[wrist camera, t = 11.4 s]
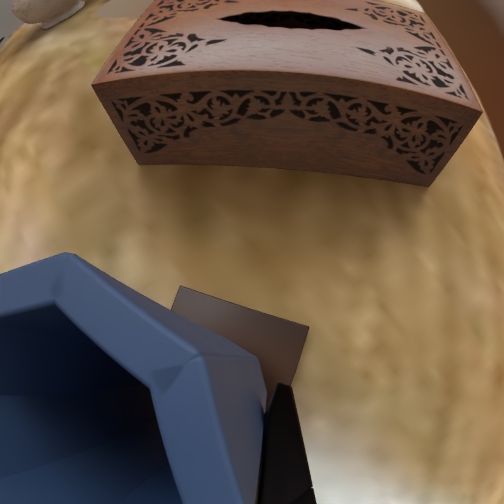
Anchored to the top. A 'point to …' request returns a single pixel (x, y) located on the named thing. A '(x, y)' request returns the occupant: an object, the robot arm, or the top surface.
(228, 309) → the brown plate with knob
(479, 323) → the top surface
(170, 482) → the blue sleeve
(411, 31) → the tissue box cover
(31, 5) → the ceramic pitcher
